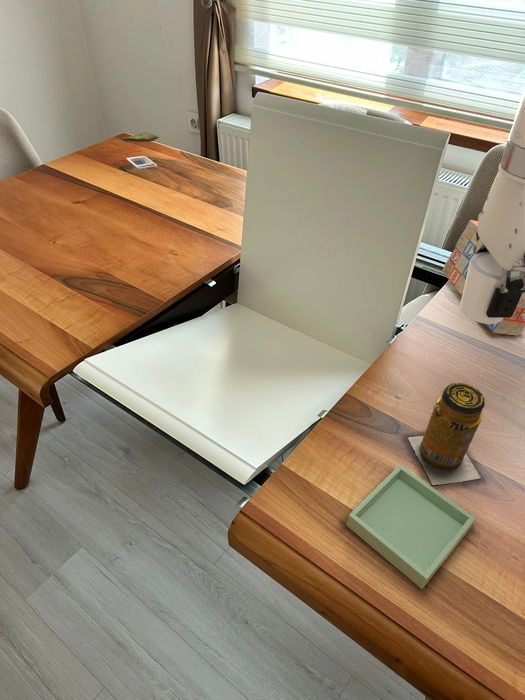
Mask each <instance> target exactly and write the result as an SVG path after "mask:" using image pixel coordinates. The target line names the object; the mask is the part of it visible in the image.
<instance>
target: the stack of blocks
mask: <svg viewBox="0 0 525 700" xmlns="http://www.w3.org/2000/svg"><path fill="white" fill-rule="evenodd" d="M477 228H478V220H473V219H469V221H468V222H467V224H466V226H465V229H464V230H463V232H462V233H461V235H460V236H459V239H458V240H457V242H456V244H455V247H454V248H453V250H452V252H451V254H450V256H449V257H448V259H446V260H447V261H446V262H445V264H444V266H443V267H442V270H441V272H442V273H443V274H444V275H445V277H446V278H447V280H448V281H449V282H450V283H451V285H452V286H453V287H454V288H455V290H456V291H457V292H458V293H459V294H460V295H461V296H462V294H463V290H464V285H465V277H466V274H467V271H468V267H469V263H470V259H471V258H472V256H473V255H475V254H474V253H473V247H474V245H475V244H476V243H477V236H476V233H477ZM519 261H521V262H523V260H519ZM485 325H486V327H487V328H488V329H489V330H490V331H491V333H493V334H501V335H503V334H504V335H508V336H509V335H510V336H516V337H517V336H519V335H520V334H521V332H523V330H524V328H525V293H522V295H521V298H520V300H519V302H518V305H517V307H516V309H515V311H514V314H513V316H512V317H510V318H503V320H502V321H500V322H498V323H495V324H485Z"/></svg>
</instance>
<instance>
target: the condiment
mask: <svg viewBox="0 0 525 700" xmlns="http://www.w3.org/2000/svg"><path fill="white" fill-rule="evenodd" d="M485 404H486V403H485V397H484V395H483V394H482V393H481V391H480V390H479V389H478V388H476V387H475V386H473V385H471V384H468V383H464V382H454V383H453V382H452V383H450V384H449V385H447V386H446V387H445V388H444V389H443V391H442V394H441V396H440V397H439V398H438V399H437V401H436V402H435V405H434V406H433V408H432V412H431V415H430V417H429V421H428V423H427V425H426V428H425V431H424V434H423V435H417V436H409V437H407V439H408V441H409V443H410V445H411V447H412V449H413V451H414V453H415V456H416V458H417V459H418V461H419V463H420V464H421V466H422V468H423V470H424V472H425V474H426V476H427V478H428V479H429V481H430V483H431V486H437V485H439V486H440V485H446V484H455V483H462V482H467V481H473V480H479V479H481V475H480V474H479V472H478V470H477V469H476V467H475V465H474V464H473V462H472V460H471V459H470V458H469V456H468V454H467V452H468V450H469V447H470V445H471V443H472V441H473V439H474V437H475V435H476V432H477V430H478V428H479V425H480V424H481V421H482V413H483V409H484V408H485Z"/></svg>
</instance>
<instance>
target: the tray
mask: <svg viewBox="0 0 525 700" xmlns="http://www.w3.org/2000/svg"><path fill="white" fill-rule="evenodd" d="M475 521H476V517H475V516H474V515H472V514H471V513H469V512H468V511H467V510H465V509H464V508H462V507H461V506H460V505H458V504H457V503H456V502H454V501H453V500H452V499H450V498H449V497H447V496H445V495H444V494H443V493H441V492H440V491H439V490H437V489H435V488H434V487H433V486H432V485H430V484H429V483H427V482H426V481H425V480H423V479H422V478H420V477H419V476H417V475H416V474H415V473H414V472H413V471H410V470H409V469H407V468H406V467H405V466H403V465H402V464H399V465H397V466H396V467H395V468H394V469H393V471H391V473H389V474H388V475H387V476H386V477H385V478H384V479H383V481H381V482H380V483H379V484H378V485H377V486H376V487H375V488H374V489H373V491H371V492H370V493H369V494H368V495H367V496H366V497H365V498H363V500H362V501H361V502H360V503H359V504H358V505H357V506H355V508H354V509H353V510H352V511H351V512H350V513H349V514H348V517H347V521H346V527H347V528H348V529H350V530H351V531H352V532H354V533H355V534H356V535H357V536H358V537H359V538H361V539H362V541H364V542H365V543H366V544H367V545H369V546H370V547H371V548H372V549H374V550H375V551H376V552H377V553H378V554H379V555H380V556H382V557H383V558H384V559H385V560H387V561H388V562H389V563H390V564H391V565H392V566H394V567H395V569H397V570H399V572H401V573H402V574H403V575H404V576H405V577H407V578H408V579H409V580H410V581H411V582H413V583H414V584H415V585H416V586H418V587H419V589H421V590H423V589H424V588H425V587H426V585H427V584H428V583H429V581H431V579H432V577H433V576H435V574H436V573H437V571H438V570H439V569H440V567H441V566H442V565H443V564H444V563H445V561H446V560H447V559H448V557H450V555H451V554H452V552H453V551H454V550H455V548H456V547H457V546H458V545H459V544H460V542H461V541H462V540H463V538H464V537H465V536H466V534H467V533H468V532H469V531H470V530H471V528H472V525H473V524H474V522H475Z"/></svg>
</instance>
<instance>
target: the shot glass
mask: <svg viewBox="0 0 525 700" xmlns="http://www.w3.org/2000/svg"><path fill="white" fill-rule="evenodd" d="M514 265H522V262H521V261H518V262H517V263H514ZM501 273H502V267H501V266H500V265H499V264H498V262H497V261H496V260H495V259H494V257H493V256H492V255H491V253H490V252H481V253H478V254H475V255H473V257H472V258H471V259H470V263H469V267H468V272H467V276H466V281H465V285H464V290H463V294H462V295H461V299H460V304H459V309H460V311H461V313H462V314H463V316H465V317H466V318H467V319H469V320H471V321H473V322H476V323H480V324H485V325H486V324H495V323H498V322H500V321H502V320H503V318H489V317H488V316H487V315H486V311H487V309H488V306H489V304H490V301H491V299H492V296H493V293H494V291H495V288H500V281H501ZM519 275H520V271H511V278H510V282H511V281H513V280H516V279H519Z"/></svg>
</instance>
